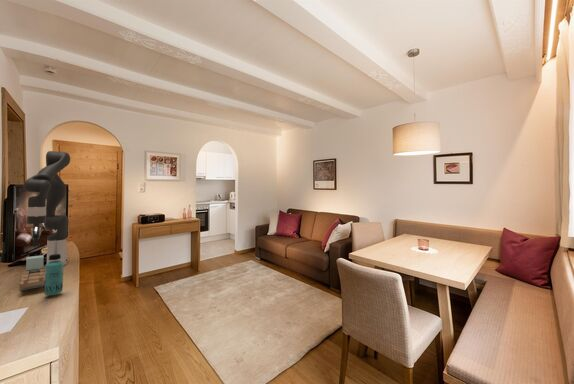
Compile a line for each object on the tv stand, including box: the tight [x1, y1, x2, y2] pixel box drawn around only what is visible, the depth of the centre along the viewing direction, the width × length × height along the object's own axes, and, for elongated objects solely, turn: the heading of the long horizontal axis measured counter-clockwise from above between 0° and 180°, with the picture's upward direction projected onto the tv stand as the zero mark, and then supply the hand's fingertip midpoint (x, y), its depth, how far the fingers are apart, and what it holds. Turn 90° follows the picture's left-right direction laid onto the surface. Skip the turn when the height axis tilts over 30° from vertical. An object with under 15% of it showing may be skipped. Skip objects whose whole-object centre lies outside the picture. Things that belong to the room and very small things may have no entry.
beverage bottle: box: [43, 254, 64, 296], centre depth 117 cm, size 6×7×20 cm
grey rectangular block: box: [25, 254, 45, 272], centre depth 131 cm, size 5×6×8 cm
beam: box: [19, 267, 46, 292], centre depth 126 cm, size 24×10×8 cm, turn 45°
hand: (35, 245), depth 136 cm, fingers closed
